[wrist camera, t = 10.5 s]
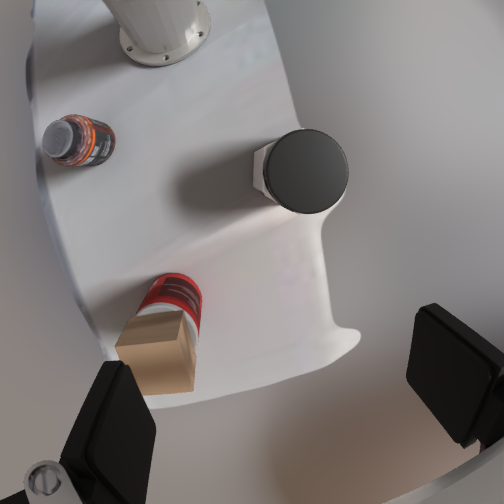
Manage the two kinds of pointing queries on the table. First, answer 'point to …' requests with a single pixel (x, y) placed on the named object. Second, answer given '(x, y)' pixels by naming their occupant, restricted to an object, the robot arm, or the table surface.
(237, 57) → the table surface
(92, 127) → the supplement bottle
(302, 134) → the jar
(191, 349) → the walnut cube
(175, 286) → the canned food
